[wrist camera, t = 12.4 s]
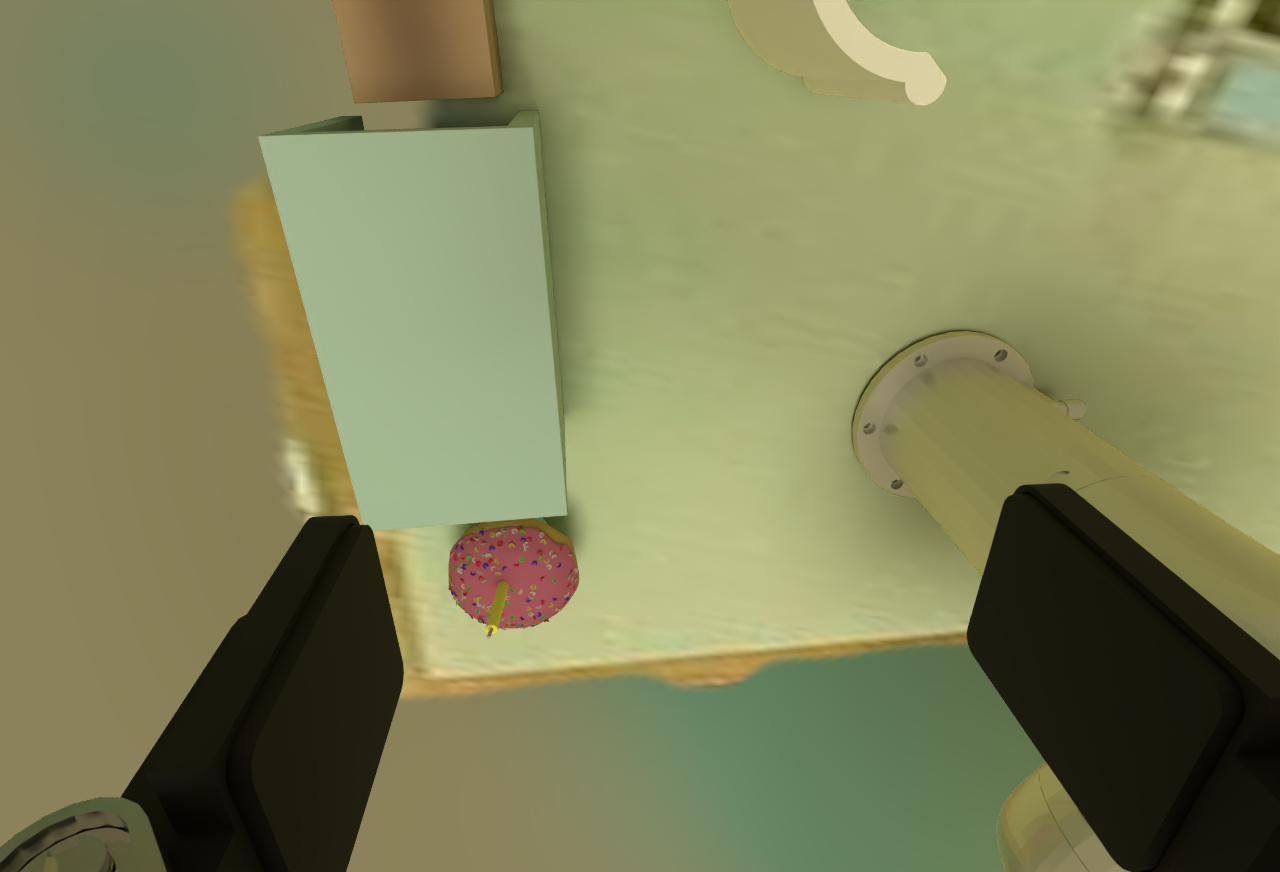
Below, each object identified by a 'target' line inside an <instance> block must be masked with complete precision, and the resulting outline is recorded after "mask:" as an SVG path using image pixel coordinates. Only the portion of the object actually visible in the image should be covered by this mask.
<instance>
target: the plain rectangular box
mask: <svg viewBox="0 0 1280 872" xmlns="http://www.w3.org/2000/svg"><path fill="white" fill-rule="evenodd" d="M258 138H259V141H260V145H261V149H262V152H263V156H264V160H265V164H266V167H267V171H268V175H269V178H270V182H271V186H272V189H273V193H274V197H275V201H276V204H277V208H278V212H279V215H280V219H281V223H282V226H283V230H284V234H285V238H286V241H287V245H288V249H289V252H290V256H291V260H292V263H293V267H294V271H295V275H296V278H297V282H298V286H299V289H300V293H301V297H302V300H303V304H304V308H305V312H306V315H307V319H308V323H309V326H310V330H311V334H312V337H313V341H314V345H315V349H316V352H317V356H318V360H319V363H320V367H321V371H322V374H323V378H324V382H325V386H326V389H327V393H328V397H329V400H330V404H331V408H332V411H333V415H334V419H335V423H336V426H337V430H338V434H339V437H340V441H341V445H342V448H343V452H344V456H345V460H346V463H347V467H348V471H349V474H350V478H351V482H352V485H353V489H354V493H355V497H356V500H357V504H358V508H359V511H360V515H361V519H362V522H363V525H369V526H370V527H371V528H372V531H383V530H395V529H407V528H419V527H431V526H443V525H455V524H467V523H479V522H491V521H503V520H515V519H527V518H539V517H551V516H563V515H567V488H566V458H565V427H564V408H563V397H562V385H561V373H560V361H559V350H558V338H557V326H556V314H555V303H554V291H553V279H552V267H551V256H550V244H549V232H548V220H547V208H546V197H545V185H544V173H543V161H542V150H541V138H540V126H539V114H538V111H519V112H518V113H517V114H516V116H515V117H514V118H513V120H512V121H511V122H510V124H509V125H508V126H486V127H455V128H424V129H397V130H396V129H393V130H364V126H363V121H362V116H343V117H337V118H333V119H329V120H324V121H320V122H316V123H312V124H308V125H304V126H299V127H295V128H291V129H287V130H283V131H278V132H274V133H270V134H266V135H262V136H258Z"/></svg>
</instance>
